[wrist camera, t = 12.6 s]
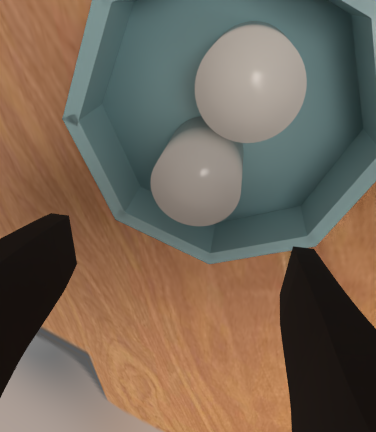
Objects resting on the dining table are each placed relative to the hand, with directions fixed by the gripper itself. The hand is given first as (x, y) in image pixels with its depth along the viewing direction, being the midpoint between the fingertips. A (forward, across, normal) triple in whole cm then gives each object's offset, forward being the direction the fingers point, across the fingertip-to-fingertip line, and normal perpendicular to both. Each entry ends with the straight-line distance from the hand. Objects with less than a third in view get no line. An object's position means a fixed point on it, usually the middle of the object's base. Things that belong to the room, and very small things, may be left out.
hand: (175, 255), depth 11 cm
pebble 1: (+9, 0, 0) cm, 9 cm away
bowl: (+9, -1, -2) cm, 10 cm away
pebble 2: (+9, -2, -4) cm, 10 cm away
